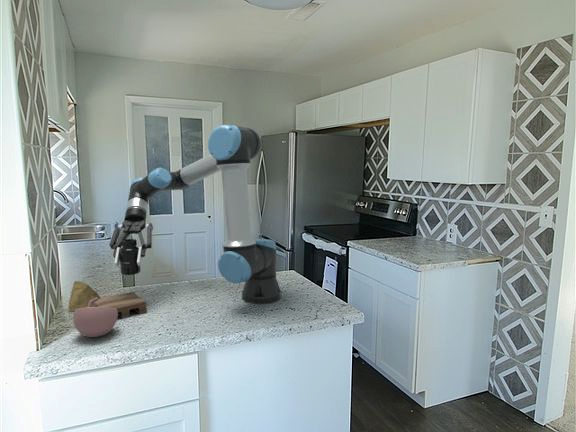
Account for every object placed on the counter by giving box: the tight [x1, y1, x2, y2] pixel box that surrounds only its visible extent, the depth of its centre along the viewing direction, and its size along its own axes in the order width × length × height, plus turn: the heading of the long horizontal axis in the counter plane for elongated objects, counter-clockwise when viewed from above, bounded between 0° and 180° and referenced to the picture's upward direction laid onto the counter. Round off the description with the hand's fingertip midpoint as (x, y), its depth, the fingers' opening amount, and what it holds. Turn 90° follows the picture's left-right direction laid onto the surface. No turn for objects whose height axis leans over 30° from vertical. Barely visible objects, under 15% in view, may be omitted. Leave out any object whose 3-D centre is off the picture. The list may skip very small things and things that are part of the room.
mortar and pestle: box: [72, 297, 119, 338], centre depth 115 cm, size 12×12×12 cm
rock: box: [67, 280, 101, 313], centre depth 139 cm, size 11×9×10 cm
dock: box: [93, 291, 148, 319], centre depth 134 cm, size 14×14×4 cm
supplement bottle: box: [119, 238, 142, 276], centre depth 137 cm, size 7×7×12 cm
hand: (127, 264), depth 134 cm, fingers closed on supplement bottle, 7 cm apart
